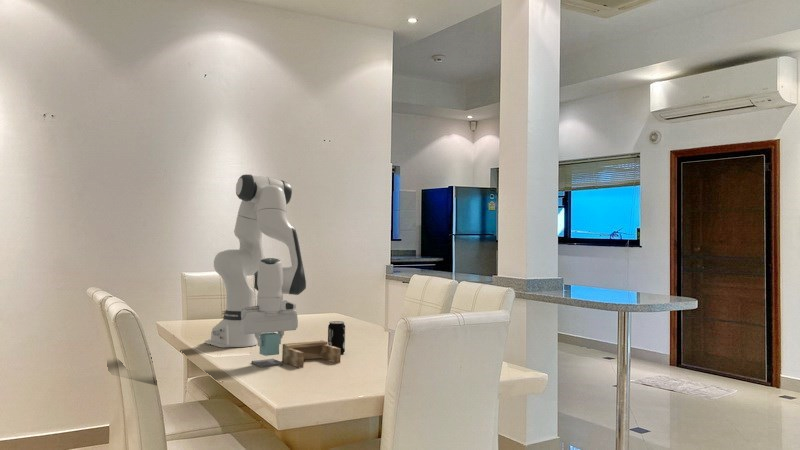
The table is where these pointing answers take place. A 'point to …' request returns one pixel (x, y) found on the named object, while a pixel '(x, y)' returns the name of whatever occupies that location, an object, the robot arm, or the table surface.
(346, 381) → the table surface
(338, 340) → the beverage can
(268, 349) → the block
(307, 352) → the wooden u-shaped holder
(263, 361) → the pad
